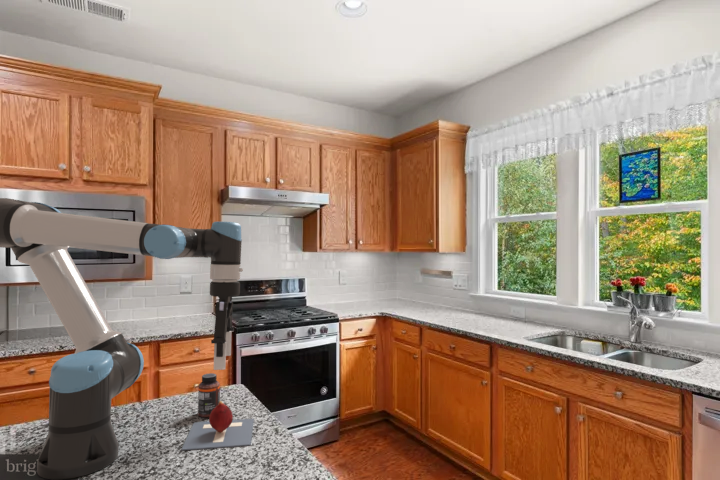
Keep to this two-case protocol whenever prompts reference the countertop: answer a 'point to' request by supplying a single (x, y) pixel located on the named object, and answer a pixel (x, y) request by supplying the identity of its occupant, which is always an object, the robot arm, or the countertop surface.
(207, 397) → the supplement bottle
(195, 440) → the letter card
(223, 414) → the onion
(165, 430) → the countertop surface
